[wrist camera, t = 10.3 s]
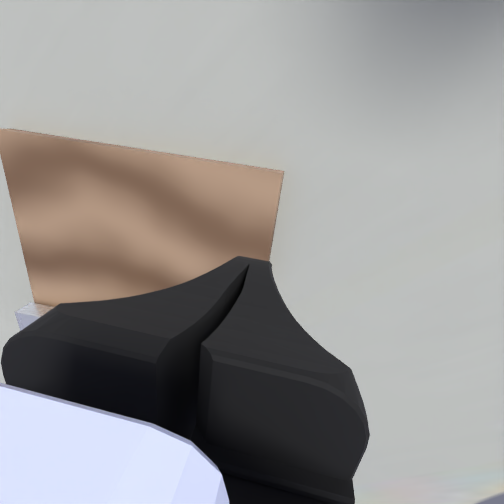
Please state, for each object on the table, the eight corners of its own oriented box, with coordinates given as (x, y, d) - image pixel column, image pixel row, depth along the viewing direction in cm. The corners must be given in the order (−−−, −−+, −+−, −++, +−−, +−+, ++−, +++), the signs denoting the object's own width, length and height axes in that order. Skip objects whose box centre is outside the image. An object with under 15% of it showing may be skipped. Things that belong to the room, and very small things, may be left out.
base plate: (247, 389, 26) (236, 436, 22) (55, 342, 29) (13, 377, 25) (284, 171, 18) (277, 182, 14) (11, 128, 21) (-63, 128, 16)
